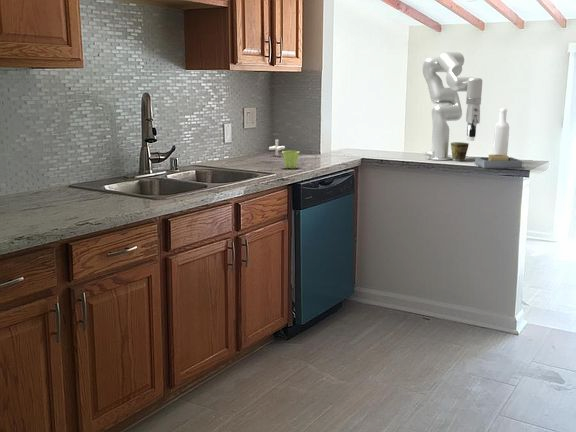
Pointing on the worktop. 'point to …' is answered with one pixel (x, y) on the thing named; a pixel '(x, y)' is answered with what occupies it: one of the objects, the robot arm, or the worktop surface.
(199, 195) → the worktop surface
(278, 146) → the pipe connector
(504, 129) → the bottle
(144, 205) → the worktop surface
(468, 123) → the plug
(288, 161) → the plant pot
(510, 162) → the box
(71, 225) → the worktop surface
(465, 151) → the ceramic cup
